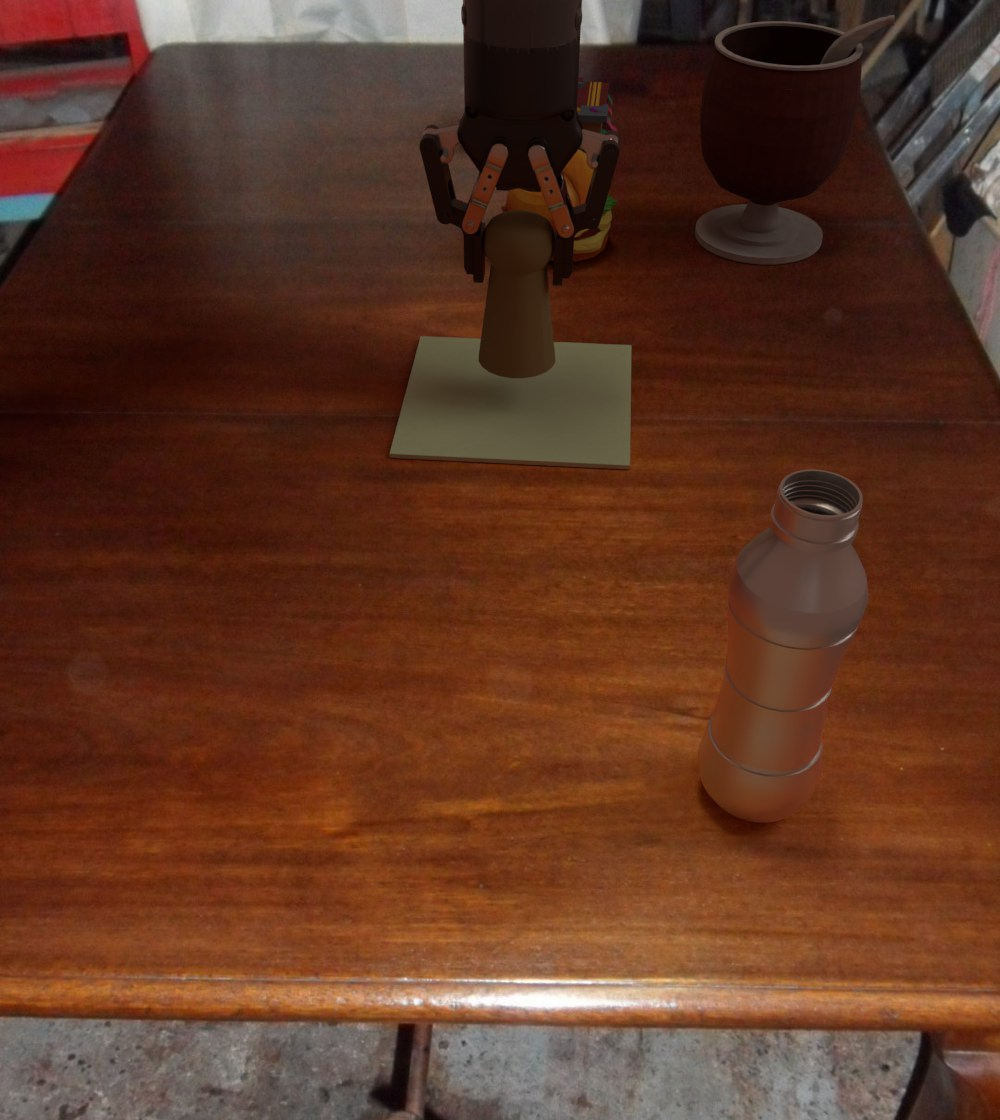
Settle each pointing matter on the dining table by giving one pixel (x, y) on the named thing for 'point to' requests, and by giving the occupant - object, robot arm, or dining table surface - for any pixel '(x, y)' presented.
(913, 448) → the dining table surface
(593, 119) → the decorative book
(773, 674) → the plastic bottle
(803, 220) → the mate gourd
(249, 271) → the dining table surface
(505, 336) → the cork
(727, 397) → the dining table surface
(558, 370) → the mat
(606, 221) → the cheeseburger
